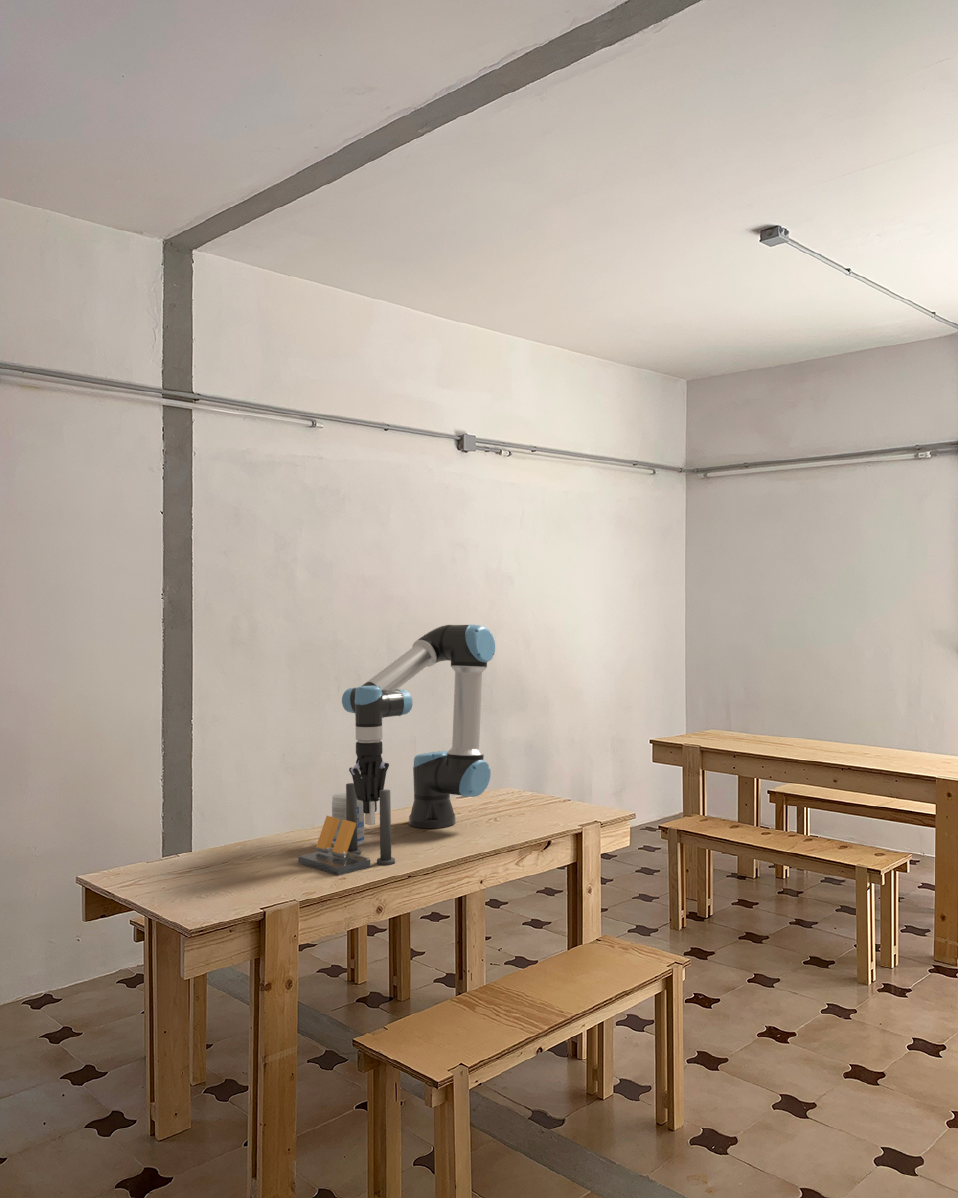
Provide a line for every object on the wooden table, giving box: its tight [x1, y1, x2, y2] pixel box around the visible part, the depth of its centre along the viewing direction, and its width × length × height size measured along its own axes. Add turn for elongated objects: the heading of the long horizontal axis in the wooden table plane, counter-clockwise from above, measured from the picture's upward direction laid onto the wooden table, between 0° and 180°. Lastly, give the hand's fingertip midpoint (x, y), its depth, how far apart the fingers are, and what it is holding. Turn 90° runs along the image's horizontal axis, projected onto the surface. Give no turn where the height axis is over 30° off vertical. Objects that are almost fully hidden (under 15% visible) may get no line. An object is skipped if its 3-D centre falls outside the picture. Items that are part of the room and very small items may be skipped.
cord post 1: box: [345, 782, 362, 855], centre depth 279 cm, size 5×5×20 cm
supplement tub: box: [331, 792, 365, 847], centre depth 290 cm, size 10×10×15 cm
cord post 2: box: [376, 789, 396, 866], centre depth 268 cm, size 5×5×20 cm
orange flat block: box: [315, 815, 340, 853], centre depth 272 cm, size 2×4×10 cm, turn 46°
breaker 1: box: [332, 820, 356, 858], centre depth 267 cm, size 2×4×10 cm, turn 45°
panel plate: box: [297, 846, 371, 876], centre depth 267 cm, size 11×18×3 cm, turn 45°
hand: (370, 824), depth 274 cm, fingers closed
